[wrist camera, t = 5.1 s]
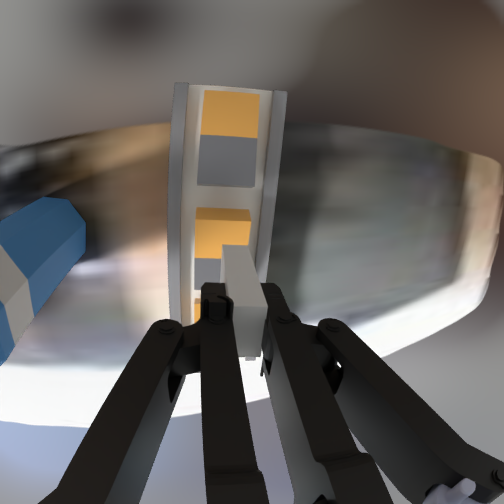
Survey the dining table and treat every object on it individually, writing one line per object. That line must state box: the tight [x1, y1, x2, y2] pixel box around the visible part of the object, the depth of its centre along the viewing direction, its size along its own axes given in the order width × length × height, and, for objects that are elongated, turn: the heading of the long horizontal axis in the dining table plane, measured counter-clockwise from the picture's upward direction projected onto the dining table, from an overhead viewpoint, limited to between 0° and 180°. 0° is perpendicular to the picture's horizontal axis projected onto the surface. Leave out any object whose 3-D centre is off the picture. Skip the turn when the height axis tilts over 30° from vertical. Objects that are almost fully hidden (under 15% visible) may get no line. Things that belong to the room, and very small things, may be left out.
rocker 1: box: [197, 90, 260, 188], centre depth 24 cm, size 5×8×2 cm, turn 175°
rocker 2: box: [194, 207, 251, 290], centre depth 28 cm, size 5×8×2 cm, turn 175°
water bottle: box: [0, 197, 86, 366], centre depth 19 cm, size 9×9×25 cm
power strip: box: [167, 83, 287, 361], centre depth 31 cm, size 10×30×5 cm, turn 175°
